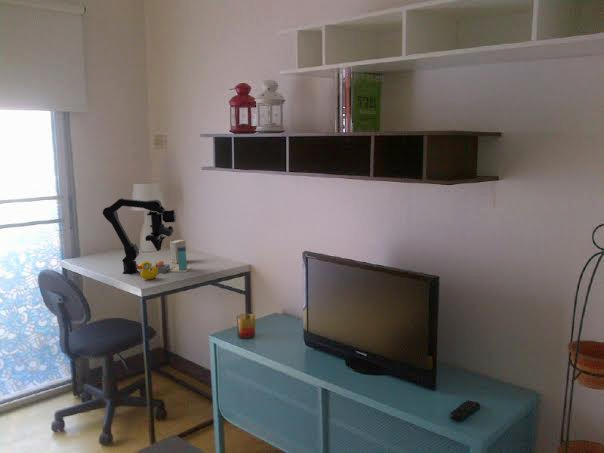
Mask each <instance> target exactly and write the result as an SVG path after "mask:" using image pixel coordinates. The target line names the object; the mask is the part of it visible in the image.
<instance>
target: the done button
mask: <svg viewBox="0 0 604 453" xmlns="http://www.w3.org/2000/svg"><path fill="white" fill-rule="evenodd" d="M164 264H165V262H164V260H156V261H155V265H156V267H163V266H164Z"/></svg>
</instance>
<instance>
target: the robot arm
mask: <svg viewBox="0 0 604 453" xmlns="http://www.w3.org/2000/svg"><path fill="white" fill-rule="evenodd" d="M122 207H129V208H139V209H145V210H147V211H148V212H147V214H146V215H147V216H150V221H151V224H150V226H149V227H150V228H151V232H150V234H147V235H146V236H145V242H151V243H152V245H153V247H154V248H155V250H156V251H157V252H159V251H161V249H162V245H163V241H164V239H166V237H171V236H172V235H173V233H174V228H173V226H171V225H169V226H167V227H166V226H165V224H164V223H167V224H168V223H176V222H177V217H176V212H175V209H171V210H166V209H165V207H164V206H163V205H162V201H160V200H158V199H150V200H149V199H148V200H140V199H129V198H124V197H121V198H119V199H118V200H116V201H115V202H114V203H113V204H112V205H110V206H109V205H108V206H106V207H105V208H103V210H102V215H103V217H104V218H105V219H106V220H107V221H108V222H109V223H110V224H111V227H112V228H113V229H114V231H115V233H116V235H117V236H118V238H119V240H120V242H121V243H122V245H123V251H124V253H125V254H124V255H125V256H124V257H123V259H121V261H122V263H123V264H122V265H123V272H122V274H125V275H126V274H130V275H133V274H135V273H138V271H139V269H137V267H136V265H138V264H137V261H136V259H137V258H138V256H139V255H140V249H139V247H138V246H137V243H132V242H131V240H130V238H129V236H128V234H127V232H126V230H125V229H124V227H123V224H122V223H121V221H120V219H119V213H118V210H120V209H121V208H122ZM163 222H164V223H163Z"/></svg>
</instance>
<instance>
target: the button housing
mask: <svg viewBox="0 0 604 453" xmlns="http://www.w3.org/2000/svg"><path fill="white" fill-rule="evenodd" d="M154 266H156V264H154V265H152V266H151V268H150V270H149V271H152V269H153V267H154ZM157 268H158V274H165V273H166V272H167V271H168V270H170V269H171V265H170V264H165V263H164V266H163V267H157ZM167 273H168V272H167Z"/></svg>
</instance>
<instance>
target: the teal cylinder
mask: <svg viewBox="0 0 604 453" xmlns="http://www.w3.org/2000/svg"><path fill="white" fill-rule="evenodd" d="M178 260H179V263H178V267H179V270H187V267H188V263H187V262H188V261H187V260H188V259H187V246H178Z"/></svg>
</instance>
